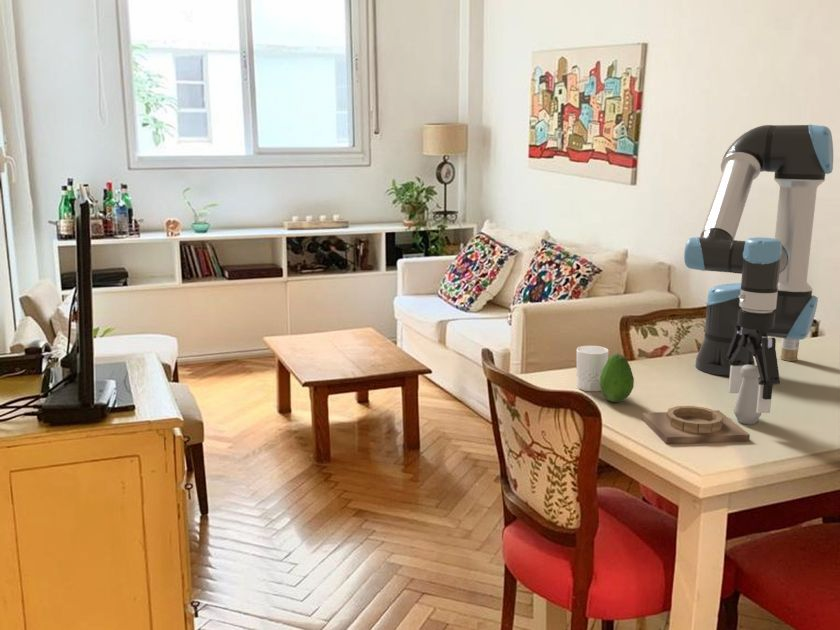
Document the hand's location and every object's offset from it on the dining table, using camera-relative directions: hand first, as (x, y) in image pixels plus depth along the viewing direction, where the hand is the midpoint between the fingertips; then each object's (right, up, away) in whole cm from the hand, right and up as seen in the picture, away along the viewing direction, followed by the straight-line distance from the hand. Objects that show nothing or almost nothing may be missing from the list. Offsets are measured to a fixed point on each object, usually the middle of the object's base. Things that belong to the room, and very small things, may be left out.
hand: (748, 402), depth 186 cm
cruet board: (-13, -6, -4) cm, 15 cm away
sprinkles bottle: (+31, +7, +50) cm, 59 cm away
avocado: (-26, -1, +15) cm, 30 cm away
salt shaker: (0, -5, +1) cm, 5 cm away
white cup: (-30, +1, +25) cm, 39 cm away
